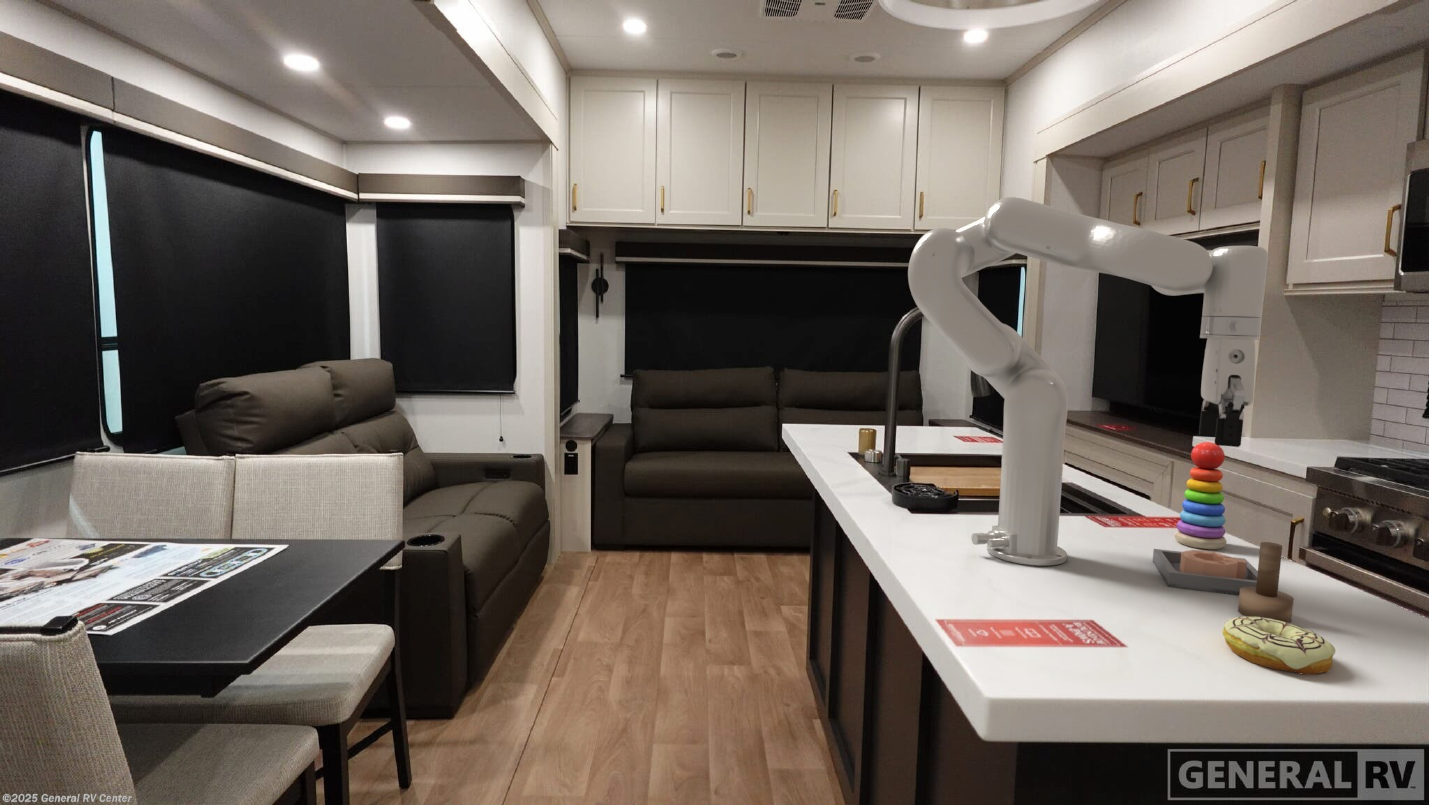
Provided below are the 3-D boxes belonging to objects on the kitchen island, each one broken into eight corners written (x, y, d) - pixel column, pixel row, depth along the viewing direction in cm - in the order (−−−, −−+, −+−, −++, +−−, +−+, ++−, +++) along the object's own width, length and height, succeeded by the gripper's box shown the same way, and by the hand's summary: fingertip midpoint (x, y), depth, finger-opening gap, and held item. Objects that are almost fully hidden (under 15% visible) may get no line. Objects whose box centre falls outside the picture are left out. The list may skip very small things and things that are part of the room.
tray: (1269, 598, 112) (1271, 584, 111) (1168, 586, 116) (1169, 572, 116) (1243, 571, 124) (1245, 558, 123) (1152, 561, 128) (1153, 548, 128)
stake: (1267, 625, 102) (1274, 552, 100) (1227, 608, 107) (1233, 539, 106) (1302, 622, 103) (1310, 549, 102) (1261, 605, 109) (1268, 537, 108)
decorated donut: (1311, 688, 85) (1315, 655, 84) (1206, 652, 94) (1209, 622, 93) (1346, 665, 91) (1349, 634, 90) (1243, 633, 99) (1246, 605, 99)
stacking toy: (1236, 551, 135) (1246, 446, 133) (1190, 550, 135) (1199, 445, 133) (1208, 538, 143) (1217, 439, 141) (1165, 537, 143) (1173, 438, 141)
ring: (1250, 587, 115) (1252, 567, 115) (1186, 579, 118) (1188, 560, 118) (1237, 573, 121) (1238, 554, 121) (1177, 566, 124) (1178, 548, 124)
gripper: (1278, 330, 106) (1265, 452, 108) (1242, 329, 122) (1231, 435, 124) (1216, 329, 109) (1204, 447, 111) (1188, 328, 125) (1178, 431, 127)
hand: (1218, 441), depth 118 cm, fingers open, 9 cm apart
